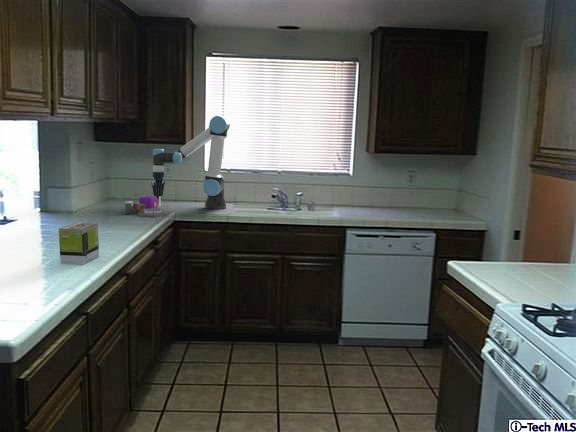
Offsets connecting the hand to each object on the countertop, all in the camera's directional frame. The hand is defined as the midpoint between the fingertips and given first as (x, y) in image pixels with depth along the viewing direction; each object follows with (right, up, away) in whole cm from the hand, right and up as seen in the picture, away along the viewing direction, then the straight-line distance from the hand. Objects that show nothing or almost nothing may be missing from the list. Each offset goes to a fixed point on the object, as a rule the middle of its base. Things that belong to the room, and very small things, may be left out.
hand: (158, 205), depth 374 cm
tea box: (+4, -26, -150) cm, 152 cm away
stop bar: (-9, -5, -22) cm, 24 cm away
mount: (+3, -7, -29) cm, 30 cm away
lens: (-12, -6, -28) cm, 31 cm away
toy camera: (-4, -4, -9) cm, 10 cm away
